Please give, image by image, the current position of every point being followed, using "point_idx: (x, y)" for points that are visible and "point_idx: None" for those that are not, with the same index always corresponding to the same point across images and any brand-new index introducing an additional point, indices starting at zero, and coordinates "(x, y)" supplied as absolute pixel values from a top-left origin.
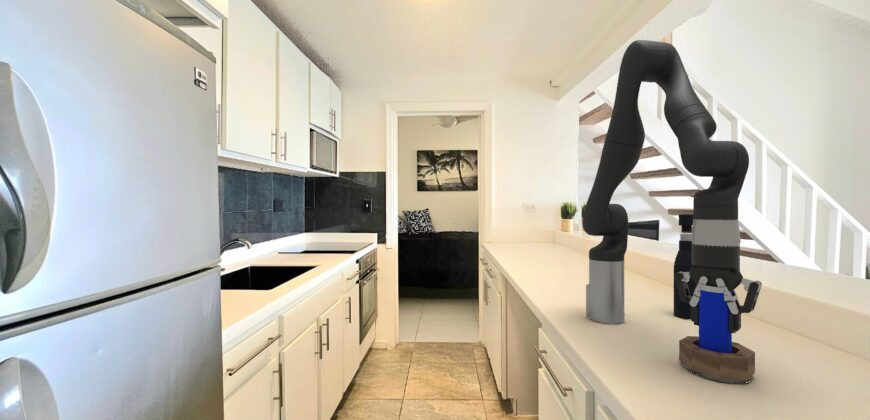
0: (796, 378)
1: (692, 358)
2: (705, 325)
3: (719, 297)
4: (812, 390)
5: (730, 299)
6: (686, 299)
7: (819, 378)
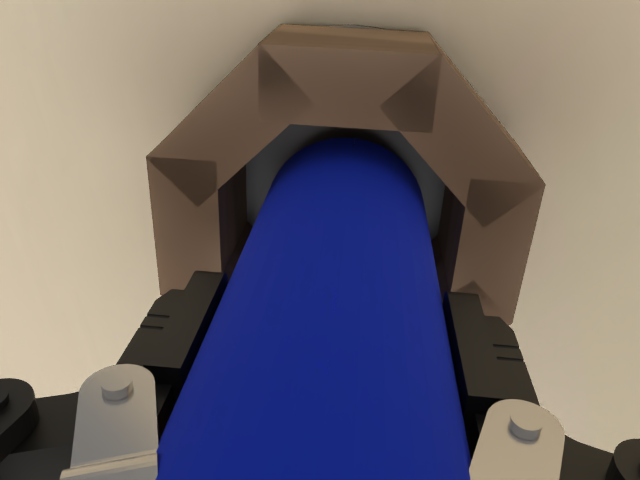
0: (101, 334)
1: (429, 43)
2: (376, 243)
3: (193, 468)
4: (26, 250)
5: (81, 476)
6: (614, 464)
7: (57, 387)
